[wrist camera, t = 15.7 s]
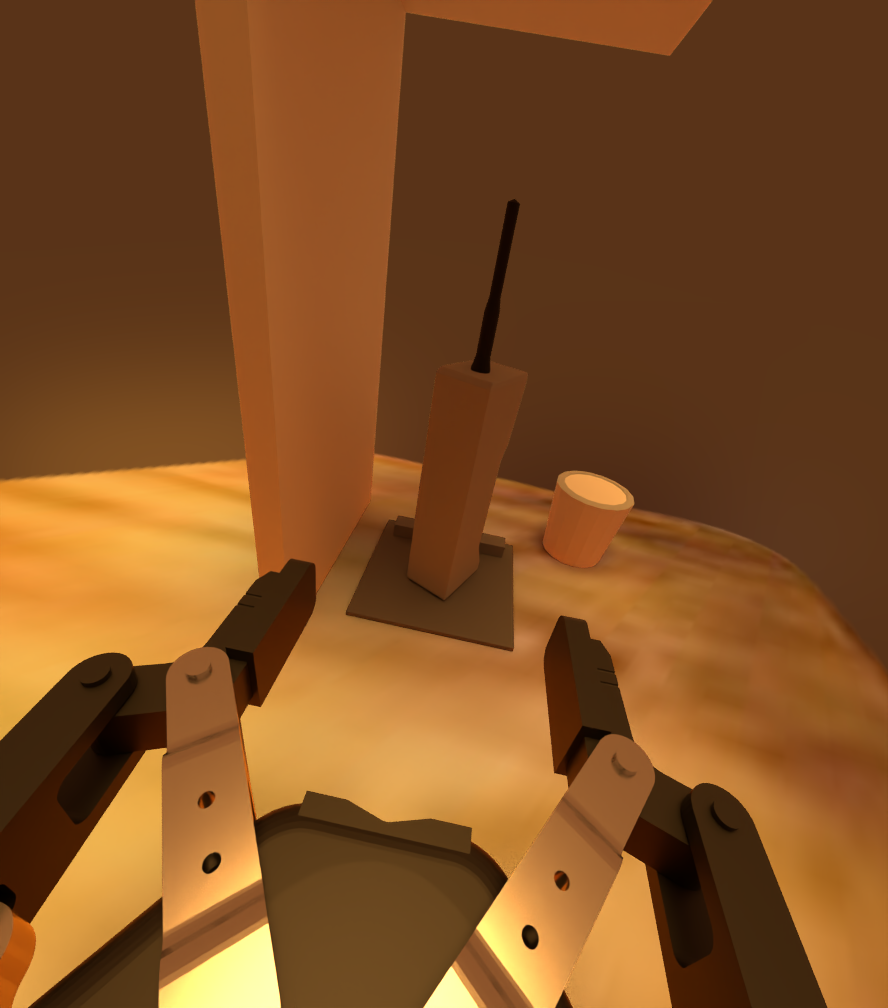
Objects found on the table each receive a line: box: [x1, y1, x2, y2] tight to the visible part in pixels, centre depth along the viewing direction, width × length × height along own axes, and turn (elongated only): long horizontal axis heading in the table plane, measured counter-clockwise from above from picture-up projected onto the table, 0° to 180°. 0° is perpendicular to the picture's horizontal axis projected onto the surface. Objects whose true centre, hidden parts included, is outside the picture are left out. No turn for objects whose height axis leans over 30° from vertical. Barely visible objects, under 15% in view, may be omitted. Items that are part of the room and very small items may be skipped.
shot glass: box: [542, 471, 634, 568], centre depth 38 cm, size 7×7×7 cm
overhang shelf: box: [195, 0, 712, 651], centre depth 24 cm, size 17×18×36 cm
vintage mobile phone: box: [407, 199, 528, 600], centre depth 27 cm, size 4×5×25 cm
